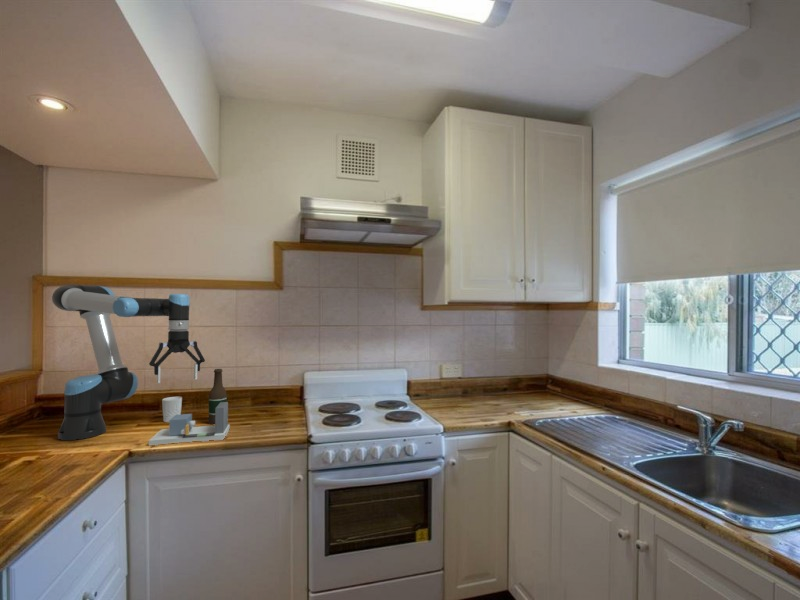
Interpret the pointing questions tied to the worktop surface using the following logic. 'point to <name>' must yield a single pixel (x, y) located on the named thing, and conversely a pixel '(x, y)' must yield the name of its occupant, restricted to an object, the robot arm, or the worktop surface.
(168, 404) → the white cup
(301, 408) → the worktop surface
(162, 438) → the board
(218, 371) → the beer bottle
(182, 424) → the carriage
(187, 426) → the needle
